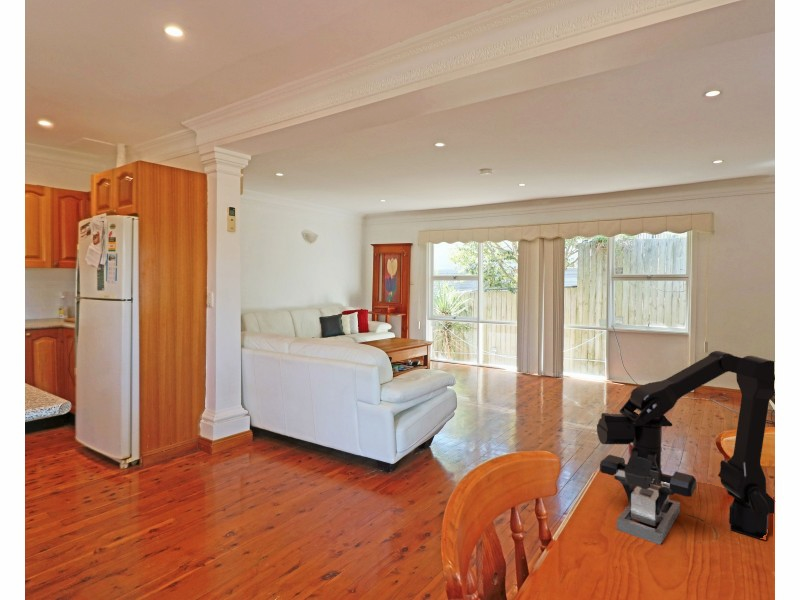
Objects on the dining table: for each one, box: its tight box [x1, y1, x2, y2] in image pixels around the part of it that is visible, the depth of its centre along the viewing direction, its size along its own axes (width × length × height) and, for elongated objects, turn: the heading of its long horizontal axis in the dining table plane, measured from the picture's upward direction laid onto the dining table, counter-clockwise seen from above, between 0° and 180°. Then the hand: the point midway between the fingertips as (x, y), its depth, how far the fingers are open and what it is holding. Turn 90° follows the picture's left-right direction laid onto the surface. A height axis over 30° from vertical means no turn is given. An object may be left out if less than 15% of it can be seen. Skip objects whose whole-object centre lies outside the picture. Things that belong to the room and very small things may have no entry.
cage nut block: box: [631, 486, 661, 527], centre depth 106 cm, size 5×5×6 cm
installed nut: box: [649, 484, 670, 513], centre depth 112 cm, size 5×5×6 cm
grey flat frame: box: [616, 499, 681, 546], centre depth 109 cm, size 9×18×2 cm, turn 138°
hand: (644, 510), depth 106 cm, fingers closed on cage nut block, 5 cm apart
